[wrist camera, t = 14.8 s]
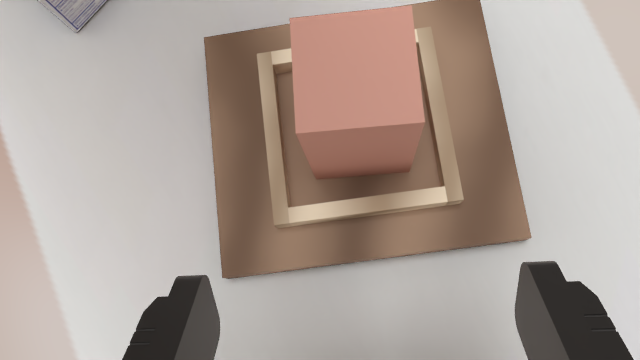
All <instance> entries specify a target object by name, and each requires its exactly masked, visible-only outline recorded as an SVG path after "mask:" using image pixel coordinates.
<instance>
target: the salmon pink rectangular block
mask: <svg viewBox="0 0 640 360" xmlns="http://www.w3.org/2000/svg"><path fill="white" fill-rule="evenodd" d="M290 35H291V54H292V73H293V92H294V111H295V130H296V135H297V138H298V140H299V142H300V144H301V147H302V149H303V151H304V153H305V156H306V158H307V160H308V162H309V165H310V167H311V169H312V171H313V174H314V176H315V178H316V180H317V179H329V178H342V177H354V176H366V175H379V174H391V173H403V172H410V169H411V166H412V163H413V159H414V156H415V153H416V150H417V146H418V143H419V140H420V137H421V134H422V130H423V127H424V124H425V118H424V109H423V100H422V91H421V82H420V73H419V65H418V56H417V47H416V38H415V29H414V20H413V12H412V5H410V6H401V7H391V8H382V9H372V10H362V11H353V12H343V13H334V14H324V15H315V16H305V17H296V18H290Z"/></svg>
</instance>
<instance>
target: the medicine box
mask: <svg viewBox="0 0 640 360" xmlns="http://www.w3.org/2000/svg"><path fill="white" fill-rule="evenodd" d="M37 1H39V2H40V3H41V4H42V5H43V6H44V7H46V8H47V9H48V10H49V11H50V12H51V13H53V14H54V15H55V16H56V17H57V18H58V19H60V20H61V21H62V22H63V23H64V24H65V25H67V26H68V27H69V28H70V29H71V30H73V31H74V32H78V31H79V30H80V29H81V28H82V27H83V26H84V25H85V23H86V22H87V21H88V20H89V19H90V18H91V17H92V16H93V15H94V14H95V13H96V12H97V11H98V9H99V8H100V7H101V6H102V5H103V4H104V3H105V2H106V1H107V0H37Z"/></svg>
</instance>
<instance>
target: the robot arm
mask: <svg viewBox="0 0 640 360" xmlns="http://www.w3.org/2000/svg"><path fill="white" fill-rule="evenodd" d="M515 319H516V325H517V329H518V333H519V335H520V338H521V341H522V344H523V346H524V349H525V352H526V355H527V357H528V360H634V359H633V358H632V356H631V354H630V352H629V351H628V349H627V347H626V345H625V344H624V342H623V340H622V338H621V337H620V335H619V333H618V332H616V328H615V326H614V324H613V323H612V321H611V319H610V318H609V317H608V316H607V312H606V311H605V309H604V307H603V305H602V304H601V302H600V300H599V298H598V297H597V296H596V295H595V294H594V293H593V292H592V291H591V290H589V289H588V288H587V287H586V286H585V285H584V284H582V283H581V282H580V281H574V282H567V281H566V280H565V278H564V276H563V274H562V272H561V270H560V268H559V266H558V264H557V263H556V262H555V261H544V262H523V263H522V265H521V268H520V275H519V282H518V289H517V296H516V303H515ZM219 336H220V319H219V314H218V310H217V307H216V303H215V299H214V296H213V292H212V288H211V285H210V281H209V278H208V277H207V276H206V275H195V276H178V277H177V278H176V279H175V281H174V284H173V286H172V289H171V291H170V293H169V296H168V297H157V298H156V299H155V300H154V301H153V302H152V303H151V305H150V306H149V307H148V308H147V309H146V310H145V311H144V312H143V314H142V316H141V319H140V321H139V323H138V325H137V328H136V332H134V334H133V337H132V339H131V341H130V346H128V348H127V350H126V353H125V355H124V357H123V359H122V360H214V356H215V353H216V349H217V345H218V341H219Z"/></svg>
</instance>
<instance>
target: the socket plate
mask: <svg viewBox="0 0 640 360" xmlns="http://www.w3.org/2000/svg"><path fill="white" fill-rule="evenodd" d="M411 5H412V12H413V20H414V29H415V38H416V47H417V56H418V65H419V73H420V82H421V91H422V100H423V109H424V118H425V124H424V127H423V130H422V134H421V137H420V140H419V143H418V146H417V150H416V153H415V156H414V159H413V163H412V166H411V169H410V172H403V173H391V174H379V175H366V176H354V177H342V178H329V179H317V180H316V178H315V176H314V174H313V171H312V169H311V167H310V165H309V162H308V160H307V158H306V156H305V153H304V151H303V149H302V147H301V144H300V142H299V140H298V138H297V135H296V130H295V111H294V92H293V73H292V54H291V35H290V24H285V25H279V26H273V27H266V28H260V29H254V30H248V31H241V32H235V33H229V34H222V35H216V36H210V37H204V43H205V56H206V69H207V82H208V95H209V108H210V122H211V135H212V148H213V161H214V174H215V187H216V201H217V214H218V227H219V240H220V253H221V266H222V278H227V279H230V278H238V277H246V276H253V275H261V274H269V273H276V272H284V271H292V270H300V269H307V268H315V267H323V266H331V265H338V264H346V263H354V262H361V261H369V260H377V259H385V258H392V257H400V256H408V255H415V254H423V253H431V252H439V251H446V250H454V249H462V248H470V247H477V246H485V245H493V244H500V243H508V242H516V241H524V240H527V239H529V238H531V233H530V229H529V224H528V220H527V215H526V210H525V206H524V201H523V197H522V192H521V187H520V183H519V178H518V174H517V169H516V164H515V160H514V155H513V150H512V146H511V141H510V137H509V132H508V127H507V123H506V118H505V114H504V109H503V104H502V100H501V95H500V90H499V86H498V81H497V77H496V72H495V67H494V63H493V58H492V54H491V49H490V44H489V40H488V35H487V31H486V26H485V21H484V17H483V12H482V7H481V3H480V0H436V1H429V2H423V3H417V4H411ZM404 6H410V5H404ZM398 7H401V6H398Z"/></svg>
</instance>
